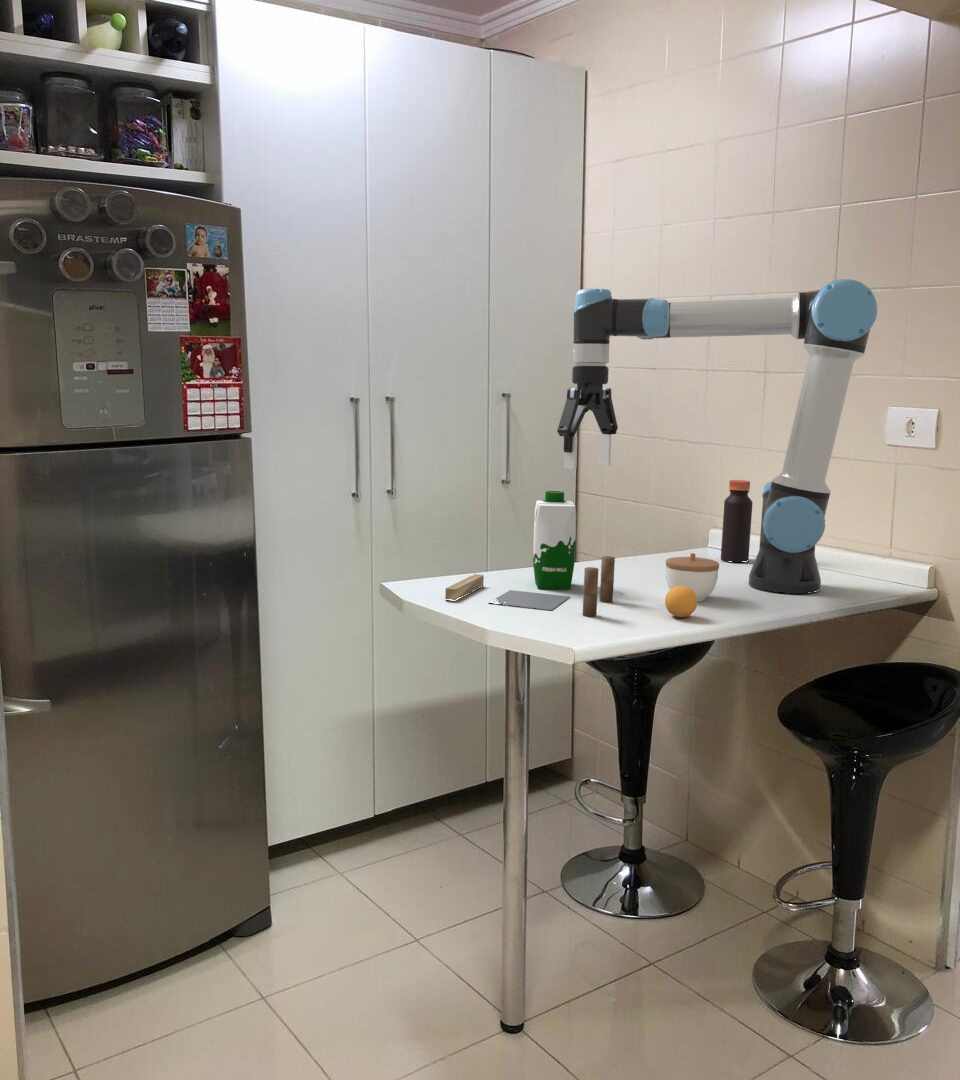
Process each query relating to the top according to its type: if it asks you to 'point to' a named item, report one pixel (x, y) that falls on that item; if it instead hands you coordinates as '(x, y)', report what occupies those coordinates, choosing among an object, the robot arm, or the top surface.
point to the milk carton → (554, 541)
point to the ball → (681, 601)
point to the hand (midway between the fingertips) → (587, 466)
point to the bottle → (737, 522)
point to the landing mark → (531, 599)
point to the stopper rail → (464, 587)
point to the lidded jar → (692, 574)
